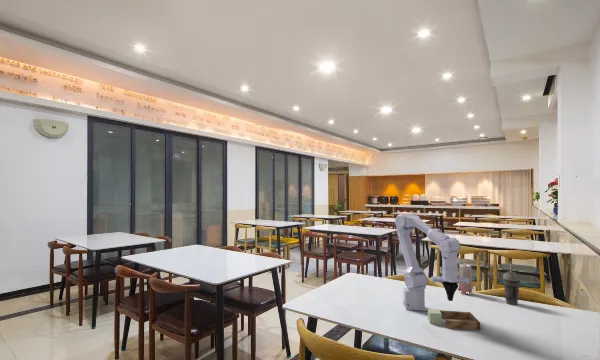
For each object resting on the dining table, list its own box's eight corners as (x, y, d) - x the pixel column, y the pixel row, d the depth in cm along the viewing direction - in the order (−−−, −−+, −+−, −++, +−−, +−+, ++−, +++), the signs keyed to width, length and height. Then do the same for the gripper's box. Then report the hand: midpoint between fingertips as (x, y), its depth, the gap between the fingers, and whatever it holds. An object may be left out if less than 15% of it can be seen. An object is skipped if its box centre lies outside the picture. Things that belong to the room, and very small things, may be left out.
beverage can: (456, 291, 169) (456, 263, 169) (467, 291, 169) (466, 263, 170) (463, 295, 163) (463, 266, 163) (474, 295, 163) (473, 266, 164)
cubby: (446, 327, 125) (446, 320, 125) (439, 317, 135) (439, 310, 135) (480, 330, 123) (480, 322, 123) (470, 319, 133) (470, 312, 133)
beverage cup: (504, 305, 149) (504, 263, 150) (501, 299, 156) (500, 260, 157) (522, 307, 147) (522, 264, 147) (518, 301, 153) (517, 261, 154)
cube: (430, 323, 129) (430, 313, 129) (427, 319, 133) (427, 308, 134) (441, 324, 128) (441, 313, 128) (439, 320, 133) (438, 309, 133)
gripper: (434, 269, 128) (434, 302, 127) (471, 270, 125) (472, 304, 125) (429, 264, 135) (430, 296, 134) (465, 266, 132) (465, 298, 132)
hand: (450, 300), depth 130 cm, fingers closed
